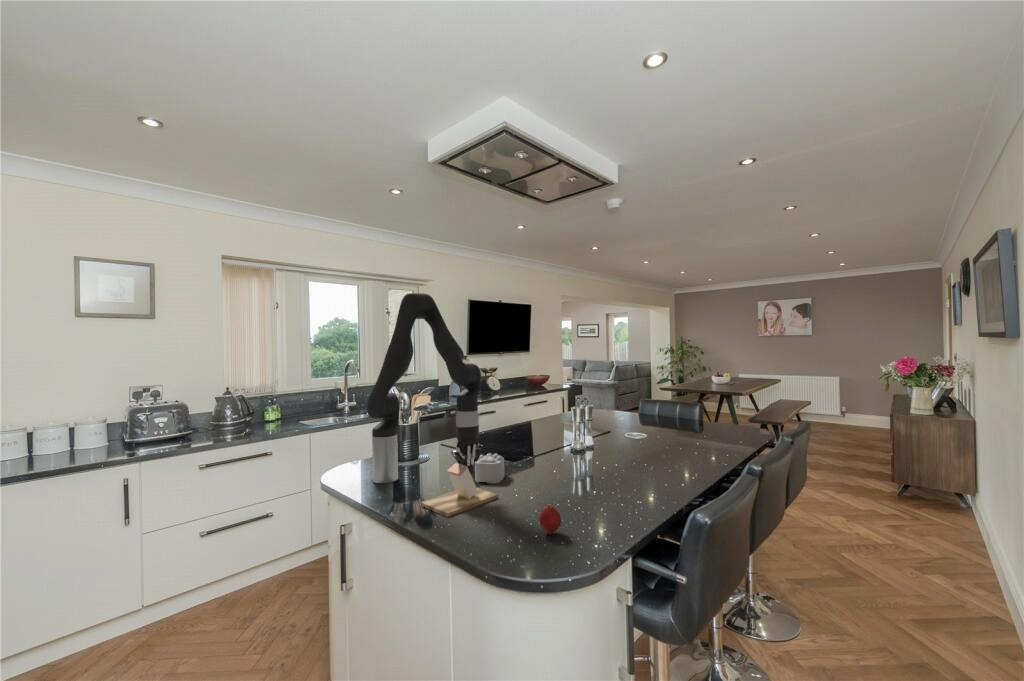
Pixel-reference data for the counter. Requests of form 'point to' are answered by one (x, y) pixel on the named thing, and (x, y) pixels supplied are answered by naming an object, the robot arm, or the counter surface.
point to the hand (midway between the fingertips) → (468, 476)
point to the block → (462, 480)
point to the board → (457, 502)
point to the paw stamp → (489, 468)
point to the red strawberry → (550, 519)
